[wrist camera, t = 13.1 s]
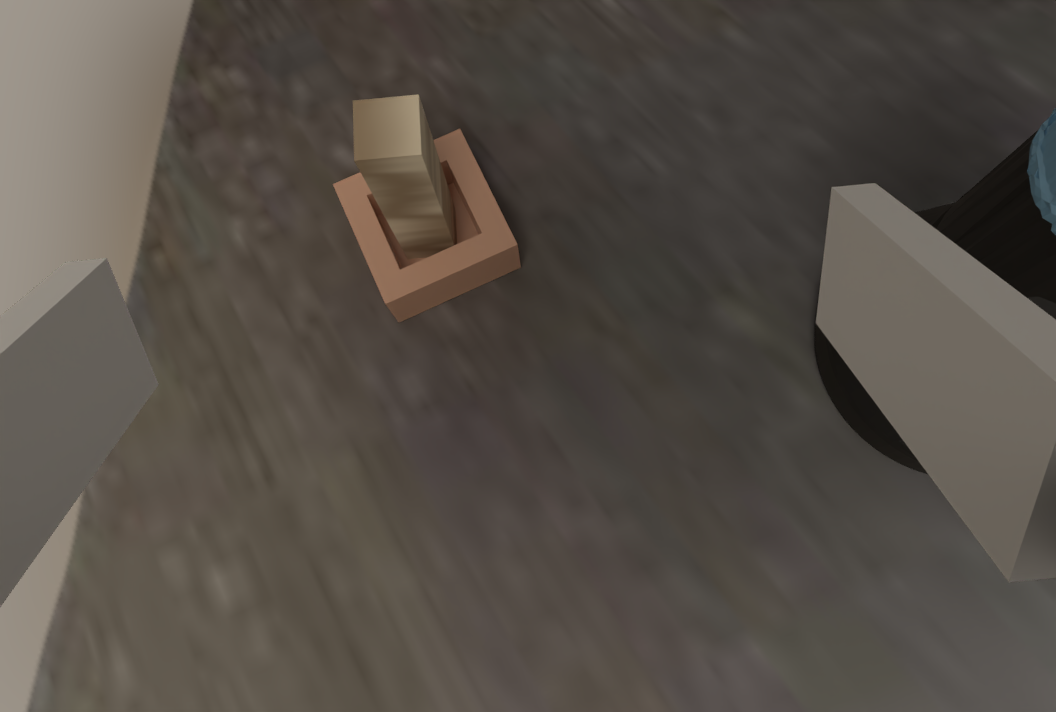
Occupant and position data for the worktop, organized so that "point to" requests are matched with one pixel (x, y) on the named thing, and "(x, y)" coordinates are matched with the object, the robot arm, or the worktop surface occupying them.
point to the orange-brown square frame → (444, 274)
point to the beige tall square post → (404, 173)
